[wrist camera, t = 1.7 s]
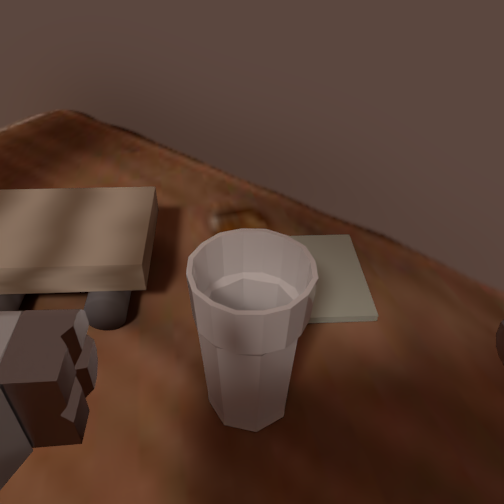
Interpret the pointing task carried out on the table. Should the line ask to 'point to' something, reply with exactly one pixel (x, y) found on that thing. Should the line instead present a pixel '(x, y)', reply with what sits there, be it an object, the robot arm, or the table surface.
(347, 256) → the pad
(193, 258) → the cup
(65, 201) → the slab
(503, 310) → the table surface
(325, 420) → the table surface
